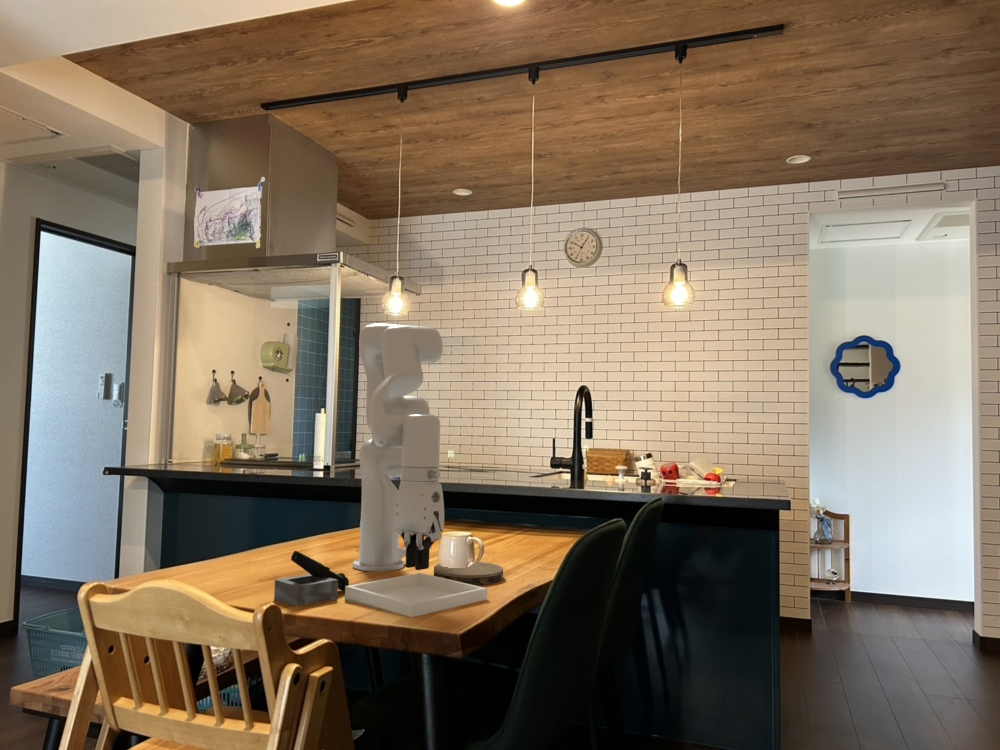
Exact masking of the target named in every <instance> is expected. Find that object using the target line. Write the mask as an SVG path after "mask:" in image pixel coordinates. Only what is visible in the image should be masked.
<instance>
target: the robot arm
mask: <svg viewBox="0 0 1000 750" xmlns="http://www.w3.org/2000/svg"><path fill="white" fill-rule="evenodd" d="M358 338H359V341H358V343H359V344H358V346H359V348H358V349H359V355H360V359H361V362H362V365H363V368H364V372H365V376H366V394H365V395H366V396H365V397H366V399H365V400H366V402H365V405H366V406H365V418H366V421H365V422H366V425H367V427H368V429H369V430H370V433H371V438H370V439H369V440H366V441H364V442H363V443H362V444H361V446H360V449H359V453H358V454H359V456H358V458H359V466H360V467H359V468H360V475H361V476H360V477H361V503H360V505H361V506H360V508H361V509H360V532H359V533H360V534H359V535H360V536H359V559H356V560H354V561H353V562H352V568H354V569H356V570H357V571H359V570H360V571H363V572H364V571H365V572H391V571H397V570H401V569H404V567H405V568H407V569H410V568H414V569H415V570H416V571H423V570H428V569H429V568H430V549H432V547H433V544H434V543H435V542H437V541H439V540H441V539H442V538H443V537H442V532H444V530H445V504H444V503H445V502H444V493H443V487H442V484H441V483H440V482H439V480H440V478H441V473H440V451H441V449H440V447H441V446H440V444H441V442H440V441H441V420H440V418H439V416H437V415H434V414H431V413H430V406H429V404H428V401H427V400H426V399H424V398H423V397H421V396H418V395H417V396H416V395H410V394H412V393H414V392H416V391H417V390H418V389H419V388H420V387H421V386H422V384H423V382H424V372H423V368H422V364H421V363H429V364H430V363H431V364H432V363H433V364H435V363H437V362H438V361H439V360H440V359H441V357H442V355H443V349H444V347H443V338H442V336H441V334H440V332H439V331H438V330H437V328H434V327H430V326H422V325H421V326H420V325H405V324H393V323H371V324H368V325H366V326H364V327H363V328H362V329H361V330H360V332H359V337H358ZM391 478H400V482H399V487H398V488H397V487H396V485H395V484H394V483H393V481H392V480H391ZM400 537H401V538H402V540H403V545H404V548H403V547H402V546H400V544H399V543H400ZM404 557H405V561H404V560H403V558H404Z"/></svg>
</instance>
